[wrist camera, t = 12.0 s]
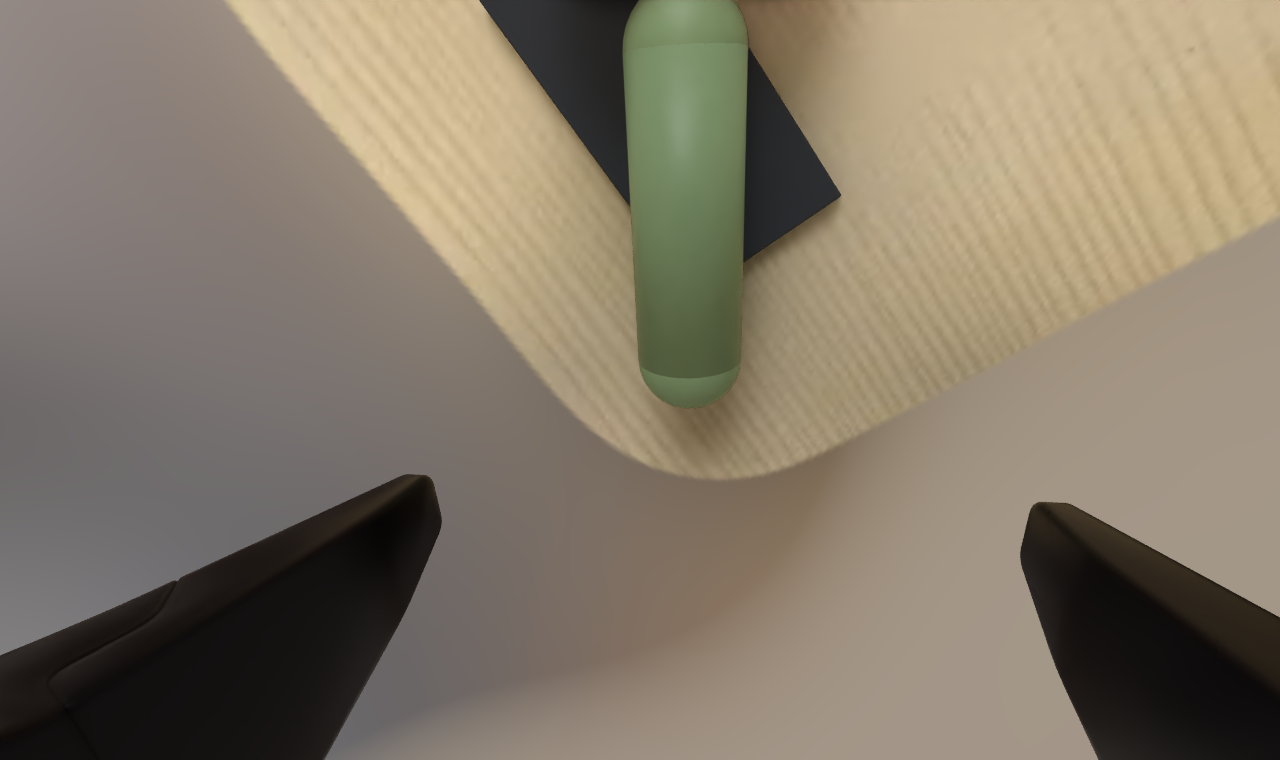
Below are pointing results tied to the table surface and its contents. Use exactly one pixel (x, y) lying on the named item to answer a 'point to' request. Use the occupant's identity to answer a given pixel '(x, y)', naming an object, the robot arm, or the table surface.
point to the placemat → (595, 108)
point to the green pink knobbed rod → (687, 192)
